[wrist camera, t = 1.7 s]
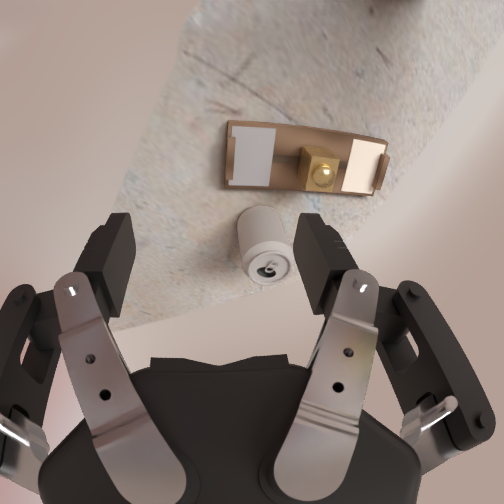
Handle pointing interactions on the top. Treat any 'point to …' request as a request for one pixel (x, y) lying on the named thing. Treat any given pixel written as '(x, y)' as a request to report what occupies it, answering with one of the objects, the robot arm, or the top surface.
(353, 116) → the top surface
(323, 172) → the brass knob
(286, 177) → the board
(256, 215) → the can
